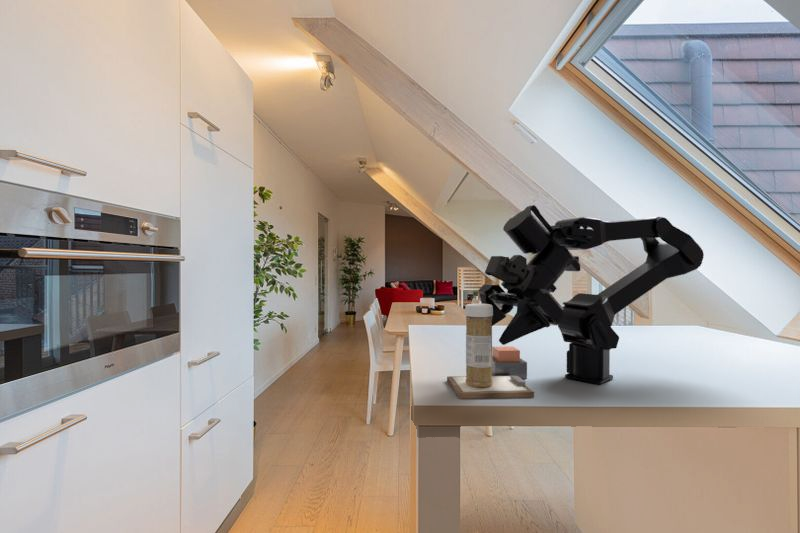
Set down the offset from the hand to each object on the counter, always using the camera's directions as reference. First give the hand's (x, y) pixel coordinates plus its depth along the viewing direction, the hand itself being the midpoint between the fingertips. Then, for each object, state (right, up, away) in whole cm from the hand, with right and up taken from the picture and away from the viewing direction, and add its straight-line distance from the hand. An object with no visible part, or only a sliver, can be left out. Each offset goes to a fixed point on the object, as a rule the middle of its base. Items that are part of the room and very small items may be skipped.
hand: (486, 338), depth 76 cm
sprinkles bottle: (-1, -8, -1) cm, 8 cm away
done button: (+5, -6, +9) cm, 12 cm away
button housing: (+5, -8, +9) cm, 14 cm away
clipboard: (0, -8, 0) cm, 8 cm away
